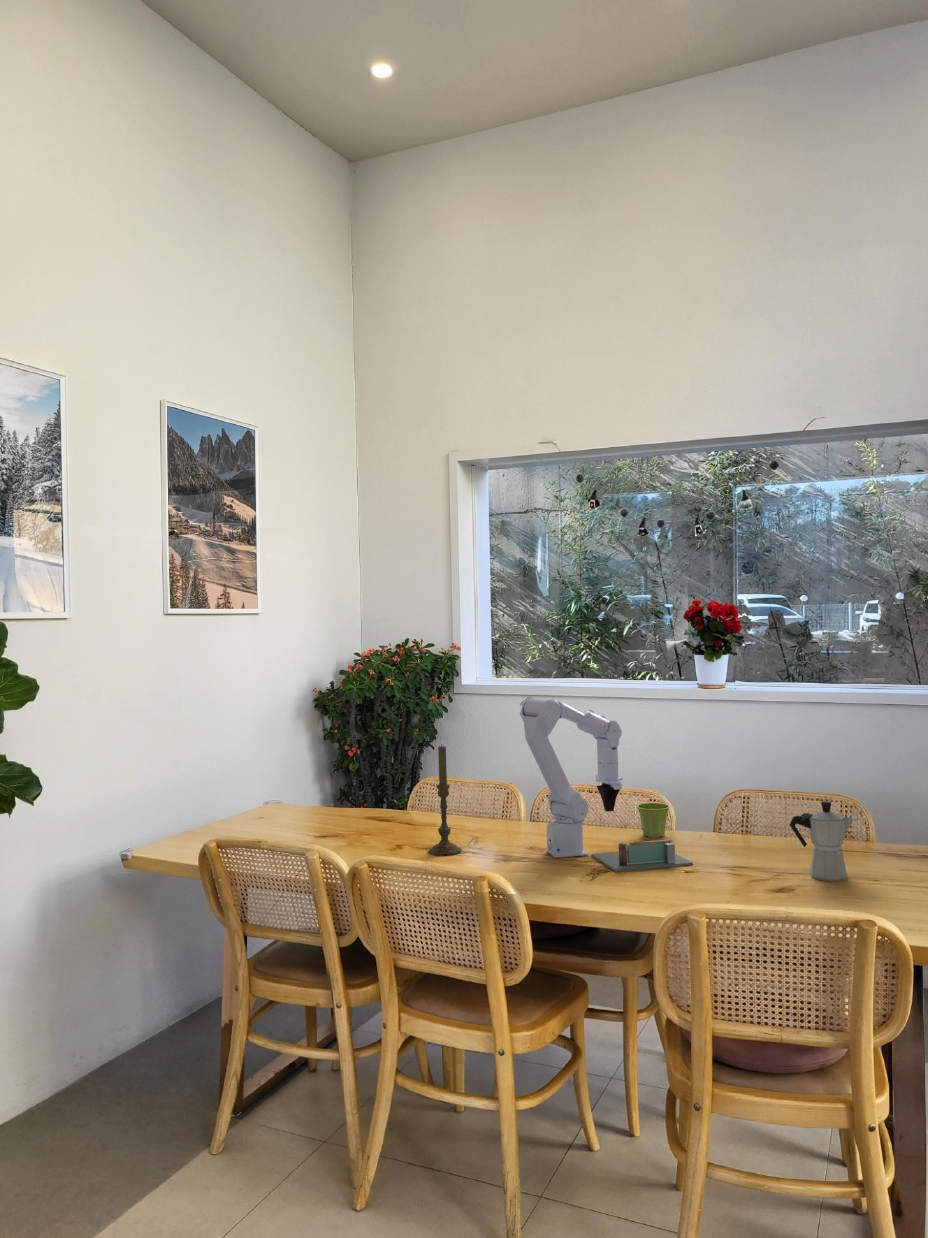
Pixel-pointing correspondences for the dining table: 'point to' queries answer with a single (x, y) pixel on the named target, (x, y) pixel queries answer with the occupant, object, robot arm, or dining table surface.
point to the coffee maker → (825, 842)
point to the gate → (646, 851)
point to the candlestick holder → (443, 811)
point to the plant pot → (653, 818)
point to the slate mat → (613, 863)
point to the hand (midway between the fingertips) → (609, 811)
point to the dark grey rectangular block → (669, 853)
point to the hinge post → (622, 854)
